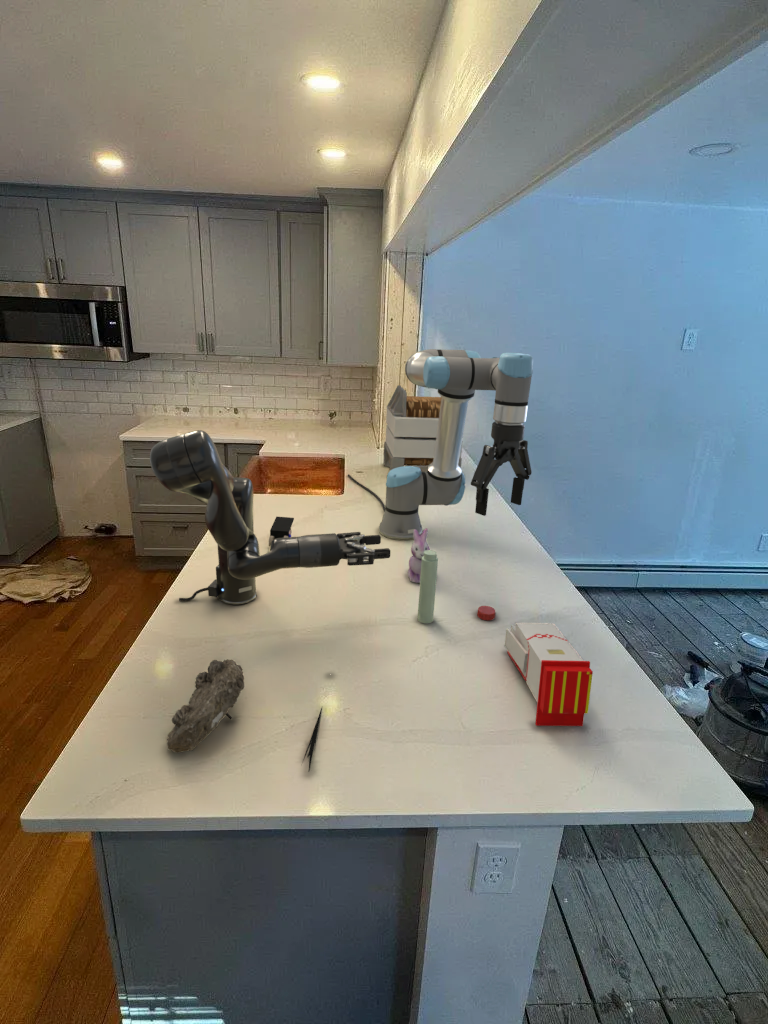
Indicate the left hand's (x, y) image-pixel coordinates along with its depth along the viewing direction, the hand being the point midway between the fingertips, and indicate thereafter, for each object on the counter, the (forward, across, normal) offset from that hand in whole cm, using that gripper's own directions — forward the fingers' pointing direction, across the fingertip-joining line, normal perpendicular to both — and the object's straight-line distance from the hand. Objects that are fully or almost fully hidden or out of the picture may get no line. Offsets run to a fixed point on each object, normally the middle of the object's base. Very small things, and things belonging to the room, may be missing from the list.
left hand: (385, 546), depth 135 cm
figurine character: (-19, +55, +21) cm, 62 cm away
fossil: (-40, -25, +22) cm, 52 cm away
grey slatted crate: (+55, +132, +20) cm, 144 cm away
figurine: (+19, +24, +21) cm, 37 cm away
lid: (+28, -1, +20) cm, 35 cm away
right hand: (+28, -1, -8) cm, 29 cm away
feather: (-21, -30, +22) cm, 43 cm away
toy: (+27, -29, +22) cm, 46 cm away
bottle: (+12, +1, +22) cm, 25 cm away
